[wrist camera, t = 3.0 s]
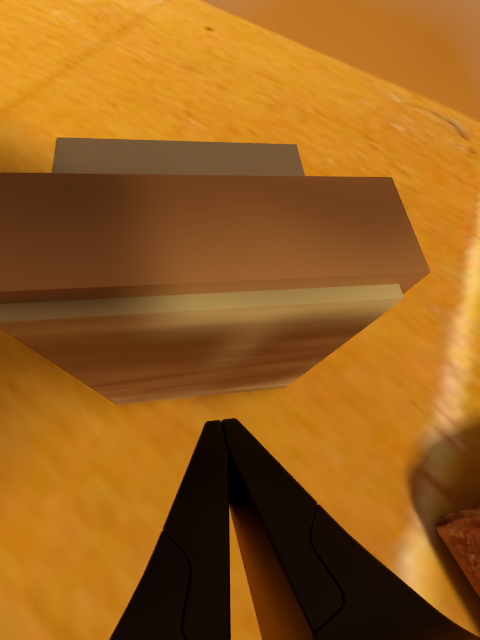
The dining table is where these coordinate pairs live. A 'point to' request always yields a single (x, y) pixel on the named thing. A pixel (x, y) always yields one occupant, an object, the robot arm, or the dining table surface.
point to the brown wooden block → (198, 275)
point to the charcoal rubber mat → (175, 157)
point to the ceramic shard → (463, 541)
